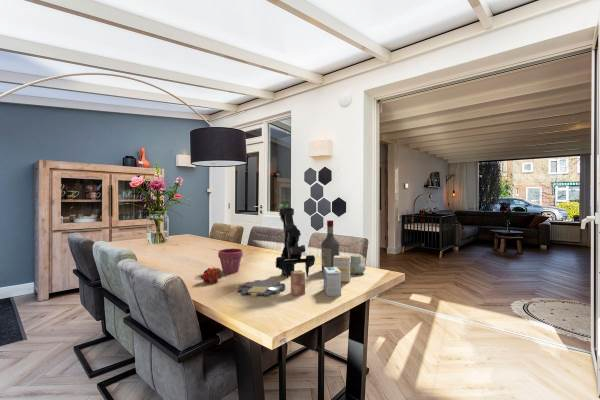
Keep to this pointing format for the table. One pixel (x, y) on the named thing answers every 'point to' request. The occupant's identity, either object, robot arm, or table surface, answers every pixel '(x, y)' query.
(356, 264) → the air freshener
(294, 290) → the link block
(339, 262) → the supplement box
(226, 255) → the plant pot
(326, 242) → the liquor
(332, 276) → the light bulb box
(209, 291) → the table surface
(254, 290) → the timing wheel
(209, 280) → the dragon fruit
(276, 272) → the table surface
